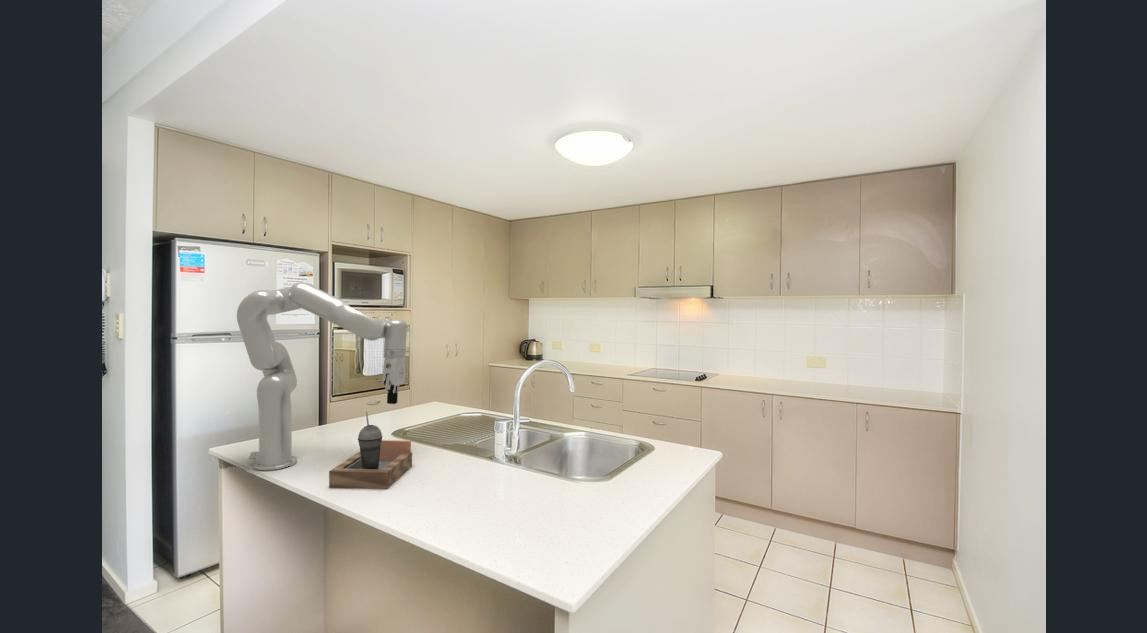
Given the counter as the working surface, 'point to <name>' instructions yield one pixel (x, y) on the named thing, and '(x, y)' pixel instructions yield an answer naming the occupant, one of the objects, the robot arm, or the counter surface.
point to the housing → (369, 474)
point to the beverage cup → (370, 446)
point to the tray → (387, 453)
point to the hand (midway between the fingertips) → (392, 403)
